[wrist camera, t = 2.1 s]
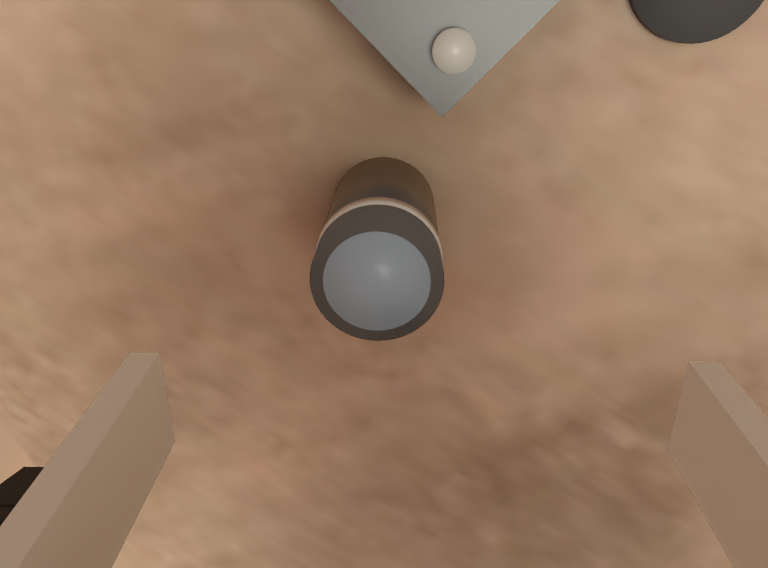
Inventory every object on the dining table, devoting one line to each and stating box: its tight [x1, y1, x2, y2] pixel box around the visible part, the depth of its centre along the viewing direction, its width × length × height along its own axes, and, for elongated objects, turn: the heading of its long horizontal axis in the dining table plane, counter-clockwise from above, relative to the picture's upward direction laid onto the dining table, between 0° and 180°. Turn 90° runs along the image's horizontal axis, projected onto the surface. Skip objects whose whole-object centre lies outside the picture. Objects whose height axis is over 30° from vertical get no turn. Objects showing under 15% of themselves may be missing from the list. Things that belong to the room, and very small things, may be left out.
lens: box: [310, 157, 444, 341], centre depth 28 cm, size 5×5×9 cm
